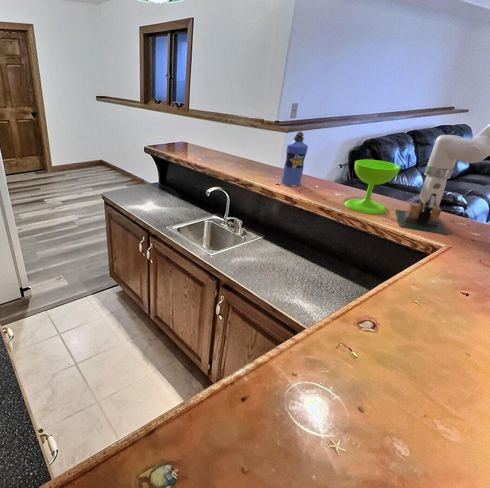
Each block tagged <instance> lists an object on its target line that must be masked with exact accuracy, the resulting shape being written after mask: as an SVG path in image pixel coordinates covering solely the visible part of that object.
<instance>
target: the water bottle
mask: <svg viewBox="0 0 490 488" xmlns="http://www.w3.org/2000/svg"><path fill="white" fill-rule="evenodd" d="M294 135H295V136H294V138H293V141H292V142H289V143H288V144H287V145H286V157H285V158H286V159H285V163H284V166H283V170H282V177H281V182H282V183H283V184H286V185H300V186H301V183H302V177H303V172H304V163H305V158H306V155H307V153H308V149H309V145H308V144H306V143H304V138H305V137H304V135H305V134H304V132H303V131H297V132H296V133H295V134H294ZM282 183H281V184H282ZM283 184H282V185H283ZM286 185H285V186H286Z"/></svg>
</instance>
